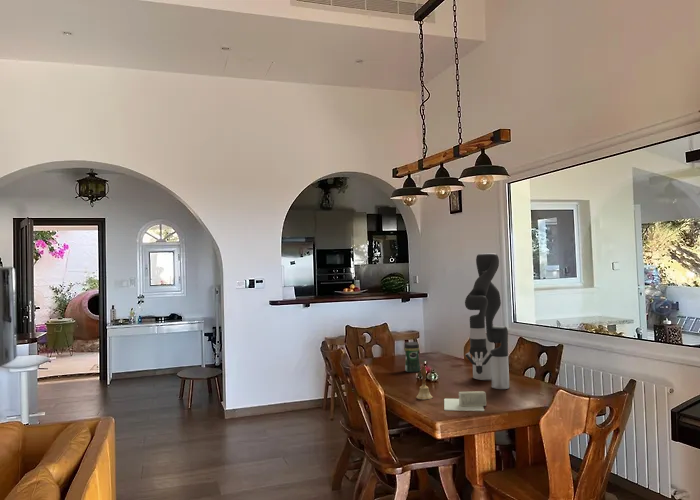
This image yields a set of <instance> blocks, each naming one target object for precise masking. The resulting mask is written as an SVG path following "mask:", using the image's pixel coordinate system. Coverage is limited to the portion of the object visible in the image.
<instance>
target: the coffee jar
mask: <svg viewBox="0 0 700 500" xmlns="http://www.w3.org/2000/svg"><path fill="white" fill-rule="evenodd" d="M403 346H404V347H403V348H404V352H405V363H404V370H405V372H407V373H419V372H421V363H420V356H419V352H420V345H419V343H418V342H417V341H410V342H405V343H404V345H403Z"/></svg>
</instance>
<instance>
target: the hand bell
mask: <svg viewBox="0 0 700 500" xmlns="http://www.w3.org/2000/svg"><path fill="white" fill-rule="evenodd" d="M420 372H421V373H420V374H421V379H422V382H421V383H422V385H421V386H419V391H418V394H417V395H416V397H415V398H416V399H418V400H432V399H433V396H432V395H431V392H430V390H429V387H428V386H427V385H426V384H427V383H426V378H427V369H426V366H425V365H422V366H421V368H420Z"/></svg>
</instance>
